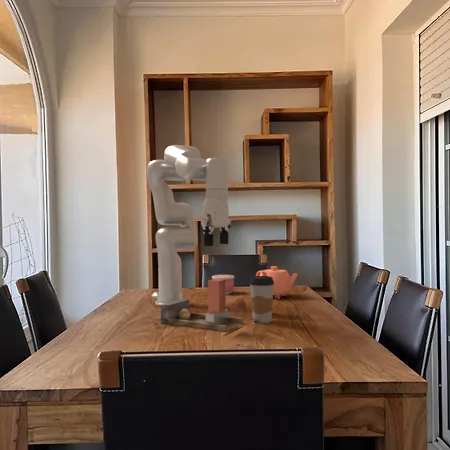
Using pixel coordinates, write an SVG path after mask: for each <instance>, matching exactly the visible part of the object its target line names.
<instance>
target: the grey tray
mask: <svg viewBox="0 0 450 450" xmlns="http://www.w3.org/2000/svg"><path fill="white" fill-rule="evenodd" d="M181 309H187V310H188V311H189V312H190V318H189V319H188V320H180V319H179V317H178V313H179V311H180V310H181ZM205 314H206V313H201V312H200V313H199V312H191V311H190V299H188V298H182V299H179V300H176V301H172V302H169V303H165V304H161V306H160V324H166V325H173V326H180V327H188V328H194V329H201V330H207V331H208V330H210V331H217V332H227V331H229V330H232V329H233V330H232V331H230V332H227V333H225V334H224V335H225V336H226V335H227V336H228V335H229V334H231V333H233V332H235V331H238V330H239V329H242V328H243V327H244V325H243V324H244V318H242V317H235V316H228V322H226V323H224V324H221V325H220V324H212V323H205ZM240 325H243V326H240ZM238 326H240V327H239V328H236V327H238ZM234 328H236V329H234Z"/></svg>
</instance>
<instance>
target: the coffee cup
mask: <svg viewBox="0 0 450 450" xmlns="http://www.w3.org/2000/svg"><path fill="white" fill-rule="evenodd" d="M273 285H274V280H273V278H272V277H270V276H256V275H254V276H251V277H250V279H249V288H250V304H251V305H250V306H251V314H252V315H251V316H252V319H253V323H256V324H268V323H271V321H272V318H273V317H272V315H273V308H274V307H273V304H274V303H273V302H274V295H273Z"/></svg>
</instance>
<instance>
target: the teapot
mask: <svg viewBox="0 0 450 450" xmlns="http://www.w3.org/2000/svg"><path fill="white" fill-rule="evenodd" d="M255 276H270V277H272V278H273V280H274V285H273V296H274V299H275V298H277V299H276V300H280V298H281V297H283V296H286V297H288V295H289V294H290V293H291V292H292V289H293V285H294V284H295V282H296V279H297V277H298V273H295V272H294V273H292V275H291V276H290V273H289V271H288V270H286V269H278V266H275V265H273V266H270V269H263V270H259V271H257V272H256V274H255Z"/></svg>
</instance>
